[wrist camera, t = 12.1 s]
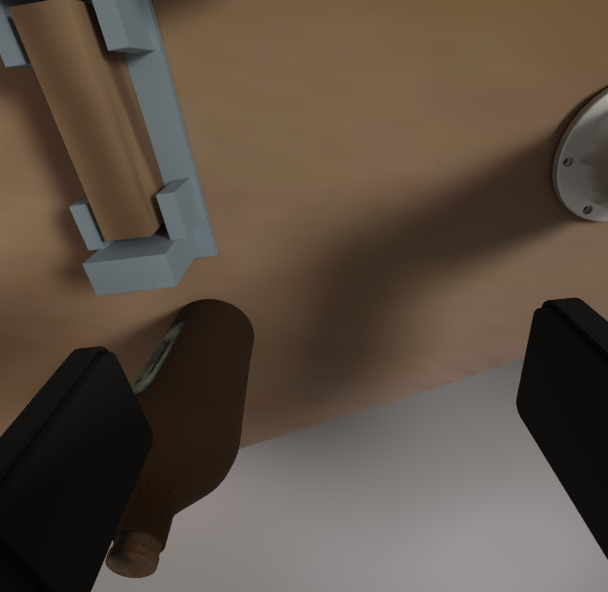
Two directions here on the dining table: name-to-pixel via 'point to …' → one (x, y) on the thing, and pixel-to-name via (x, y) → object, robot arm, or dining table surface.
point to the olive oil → (185, 426)
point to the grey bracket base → (167, 147)
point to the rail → (94, 114)
